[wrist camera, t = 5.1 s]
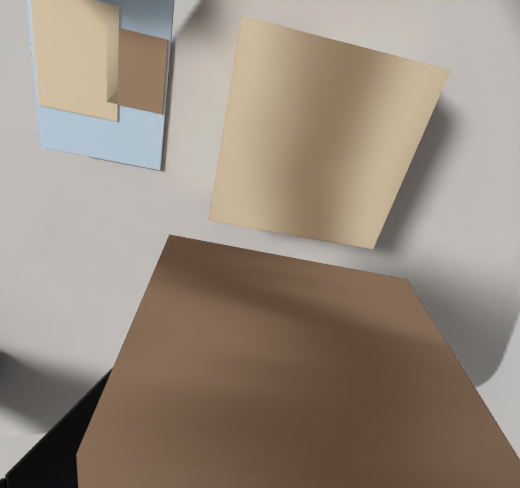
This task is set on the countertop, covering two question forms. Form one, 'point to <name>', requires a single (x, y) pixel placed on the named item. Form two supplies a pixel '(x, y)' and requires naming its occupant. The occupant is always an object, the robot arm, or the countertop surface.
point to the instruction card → (102, 76)
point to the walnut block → (287, 384)
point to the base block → (318, 134)
